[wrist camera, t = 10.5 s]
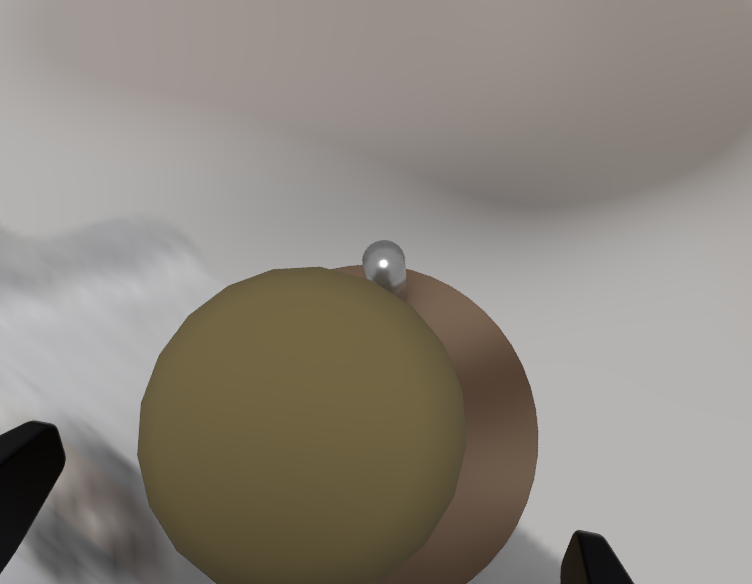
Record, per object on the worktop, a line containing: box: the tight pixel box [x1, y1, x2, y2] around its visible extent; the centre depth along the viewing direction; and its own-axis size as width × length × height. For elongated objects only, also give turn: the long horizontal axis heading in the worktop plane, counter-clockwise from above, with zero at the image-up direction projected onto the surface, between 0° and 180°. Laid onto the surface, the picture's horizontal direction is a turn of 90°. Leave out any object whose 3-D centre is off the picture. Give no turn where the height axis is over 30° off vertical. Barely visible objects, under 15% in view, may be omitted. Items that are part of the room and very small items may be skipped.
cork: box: [137, 267, 467, 584], centre depth 13 cm, size 6×6×11 cm
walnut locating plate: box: [330, 240, 538, 584], centre depth 17 cm, size 11×11×4 cm
